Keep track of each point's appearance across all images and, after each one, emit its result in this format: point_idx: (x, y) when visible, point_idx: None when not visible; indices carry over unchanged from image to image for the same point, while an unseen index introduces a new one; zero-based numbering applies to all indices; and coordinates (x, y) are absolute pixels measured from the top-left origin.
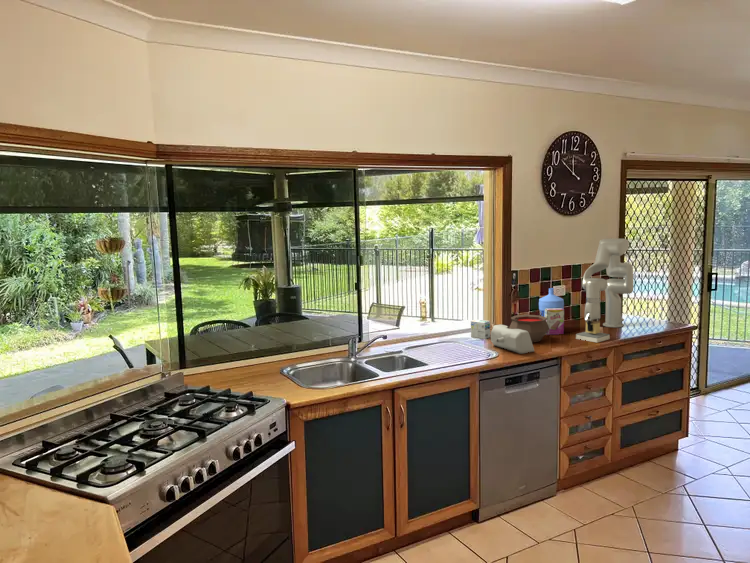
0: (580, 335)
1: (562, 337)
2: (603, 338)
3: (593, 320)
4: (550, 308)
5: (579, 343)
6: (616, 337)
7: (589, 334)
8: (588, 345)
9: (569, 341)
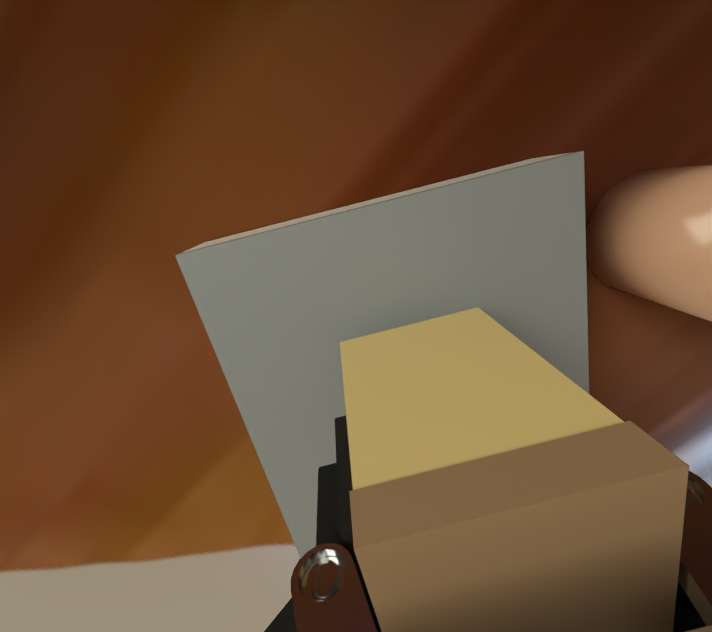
0: (216, 337)
1: (38, 23)
2: None
3: (615, 621)
4: None
5: (94, 459)
6: (675, 422)
7: None
8: (140, 554)
9: (17, 325)
